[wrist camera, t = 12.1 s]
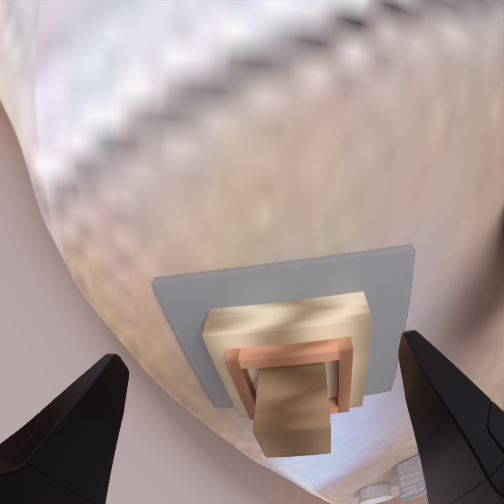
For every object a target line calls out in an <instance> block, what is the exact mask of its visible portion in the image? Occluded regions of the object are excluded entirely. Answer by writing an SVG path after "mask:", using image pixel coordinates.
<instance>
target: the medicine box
mask: <svg viewBox="0 0 504 504" xmlns="http://www.w3.org/2000/svg"><path fill="white" fill-rule="evenodd" d="M396 469H397V476H398V484H399V492H400V499H402V500H411V499H414V498H417V497H419V496H422V495H424V494H427V491H426V486H425V480H424V475H423V470H422V465H421V461H420V456H419V454H418V455H416V456H414V457H412V458H410V459H408V460H406V461H403V462H401V463H399V464H397V465H396Z"/></svg>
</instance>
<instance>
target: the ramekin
mask: <svg viewBox="0 0 504 504" xmlns="http://www.w3.org/2000/svg"><path fill="white" fill-rule="evenodd" d="M393 497H394V496H393V494H392V489H391V485H390V483H379V484H374V485H370V486H367V487H364V488H362V489H361V490H360V493H359V503H358V504H375V503H379V502H383V501H386V500H389V499H391V498H393Z"/></svg>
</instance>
